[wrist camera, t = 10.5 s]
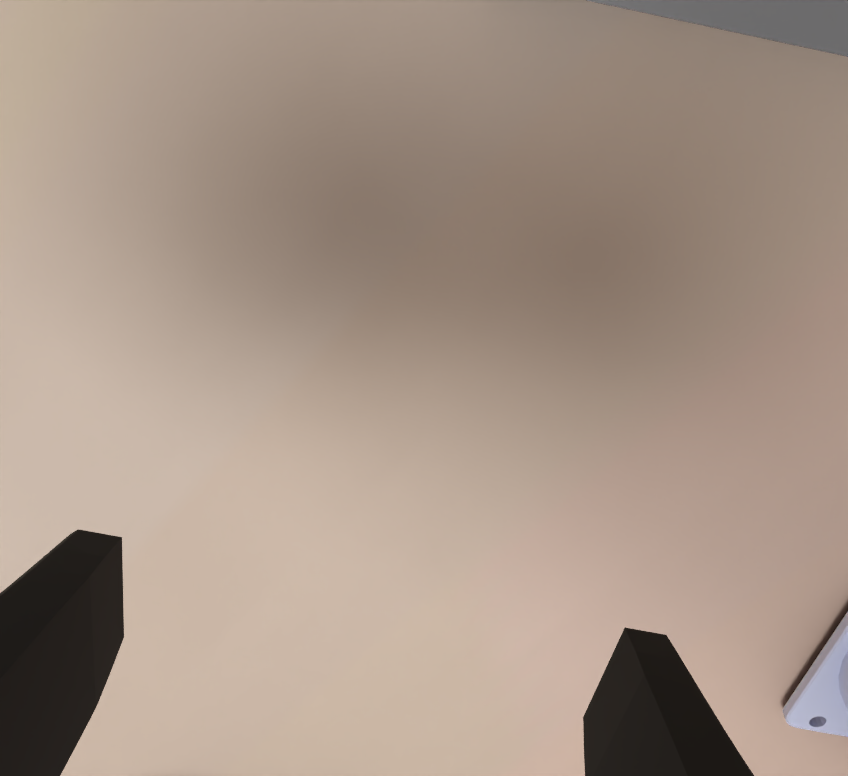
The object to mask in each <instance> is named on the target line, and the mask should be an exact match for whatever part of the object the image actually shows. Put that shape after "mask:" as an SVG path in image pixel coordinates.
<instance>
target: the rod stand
mask: <svg viewBox="0 0 848 776" xmlns="http://www.w3.org/2000/svg"><path fill="white" fill-rule="evenodd" d="M587 1H592V2H597V3H601V4H606V5H611V6H615V7H620V8H624V9H629V10H634V11H638V12H643V13H648V14H652V15H657V16H661V17H666V18H671V19H675V20H680V21H685V22H689V23H694V24H699V25H703V26H708V27H712V28H717V29H722V30H726V31H731V32H736V33H740V34H745V35H750V36H754V37H759V38H763V39H768V40H773V41H777V42H782V43H787V44H791V45H796V46H800V47H805V48H810V49H814V50H819V51H824V52H828V53H833V54H838V55H842V56H847V57H848V0H587Z"/></svg>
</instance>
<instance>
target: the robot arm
mask: <svg viewBox="0 0 848 776" xmlns="http://www.w3.org/2000/svg"><path fill="white" fill-rule="evenodd" d="M123 638H124V623H123V573H122V537H117V536H111V535H106V534H100V533H95V532H89V531H83V530H77V531H75V532H73V533H72V534H70V535H69V536H68V537H66V538H65V539H64V540H63V541H62V542H61V543H59V544H58V545H57V546H56V547H55V548H54V549H52V550H51V551H50V552H49V553H48V554H47V555H45V556H44V557H43V558H42V559H41V560H40V561H38V562H37V563H36V564H35V565H34V566H33V567H31V568H30V569H29V570H28V571H27V572H25V573H24V574H23V575H22V576H21V577H19V578H18V579H17V580H16V581H15V582H13V583H12V584H11V585H10V586H9V587H7V588H6V589H5V590H4V591H3V592H1V593H0V776H60V775H61V773H62V771H63V769H64V767H65V765H66V764H67V762H68V760H69V758H70V756H71V754H72V752H73V750H74V748H75V747H76V745H77V743H78V741H79V739H80V737H81V735H82V733H83V731H84V729H85V728H86V726H87V724H88V722H89V720H90V718H91V716H92V714H93V712H94V710H95V708H96V706H97V704H98V701H99V699H100V696H101V694H102V691H103V689H104V687H105V684H106V682H107V679H108V677H109V674H110V672H111V669H112V666H113V664H114V661H115V659H116V656H117V654H118V651H119V648H120V646H121V643H122V641H123ZM783 714H784V717H785V720H786V722H787V723H788V724H789V725H790V726H793V727H796V728H800V729H806V730H812V731H817V732H823V733H829V734H835V735H840V736H846V737H848V612H847V613H846V615H845V616H844V618H843V619H842V621H841V622H840V624H839V625H838V627H837V628H836V630H835V631H834V633H833V634H832V636H831V637H830V639H829V640H828V642H827V643H826V645H825V646H824V648H823V649H822V651H821V652H820V654H819V655H818V657H817V658H816V660H815V661H814V663H813V664H812V666H811V667H810V669H809V670H808V672H807V673H806V675H805V676H804V678H803V679H802V681H801V682H800V684H799V685H798V687H797V688H796V690H795V691H794V693H793V694H792V695H791V697H790V698H789V700H788V701H787V703H786V704H785V706H784V708H783ZM583 721H584V759H585V776H754V775H753V773H752V772H751V770H750V769H749V767H748V766H747V764H746V763H745V761H744V760H743V758H742V757H741V755H740V754H739V752H738V751H737V749H736V747H735V746H734V744H733V743H732V741H731V740H730V738H729V736H728V735H727V733H726V732H725V730H724V728H723V727H722V725H721V724H720V722H719V720H718V719H717V717H716V715H715V714H714V712H713V711H712V709H711V707H710V706H709V704H708V702H707V701H706V699H705V698H704V696H703V694H702V693H701V691H700V689H699V688H698V686H697V684H696V683H695V681H694V679H693V678H692V676H691V674H690V673H689V671H688V670H687V668H686V666H685V665H684V663H683V661H682V660H681V658H680V656H679V655H678V653H677V651H676V650H675V648H674V647H673V645H672V643H671V642H670V640H669V639H668V637H667V635H663V634H657V633H652V632H646V631H640V630H635V629H629V628H625V629H624V631H623V633H622V635H621V637H620V639H619V642H618V644H617V646H616V648H615V650H614V652H613V654H612V657H611V659H610V661H609V663H608V665H607V667H606V670H605V672H604V674H603V676H602V678H601V680H600V682H599V685H598V687H597V689H596V691H595V693H594V695H593V698H592V700H591V702H590V704H589V706H588V708H587V710H586V713H585V715H584V717H583Z"/></svg>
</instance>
